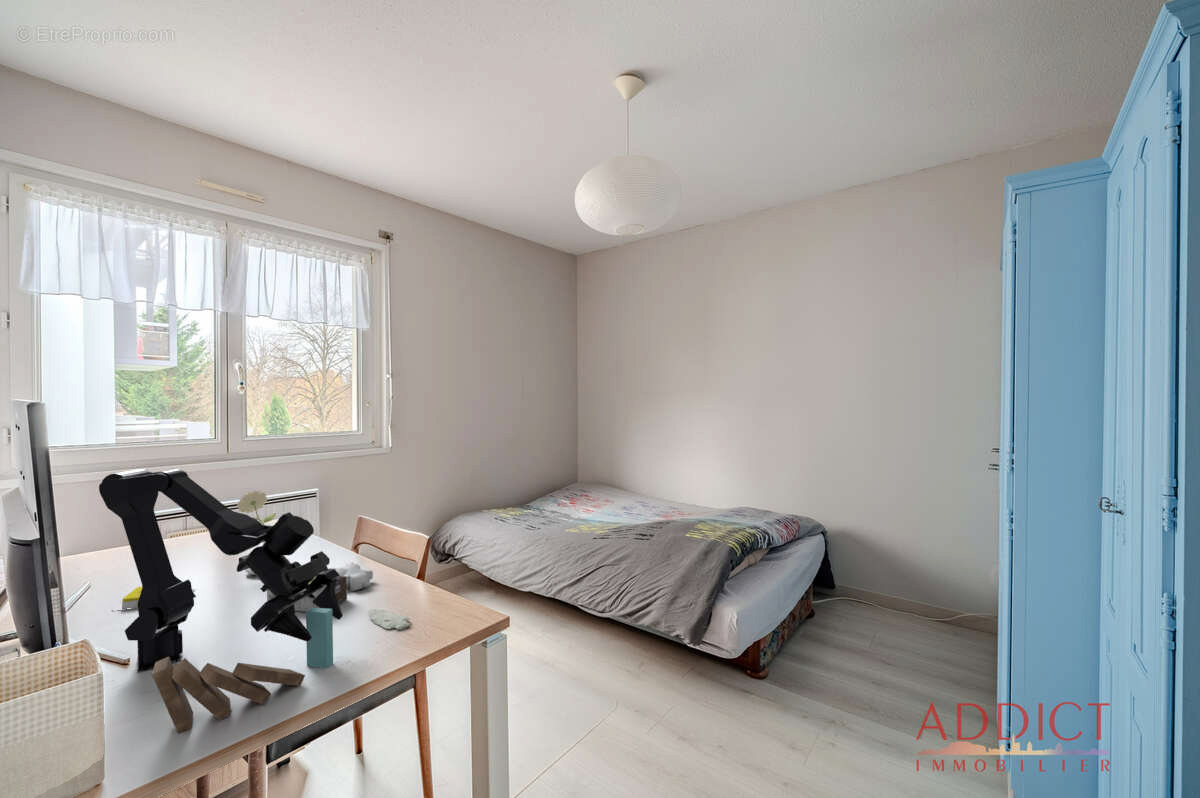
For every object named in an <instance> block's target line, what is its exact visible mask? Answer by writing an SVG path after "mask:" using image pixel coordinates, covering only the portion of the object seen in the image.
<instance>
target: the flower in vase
mask: <svg viewBox="0 0 1200 798" xmlns="http://www.w3.org/2000/svg"><path fill="white" fill-rule="evenodd" d="M267 499H268V498H267V495H266V492H265V491H263V492H261V491H260V490H253V491H252V492H251V491H249V492H248V493H247V494H244V495H243V496H242V497H241V498H240V499H239V500H238V501H239V502H237V503H236V508H237V509H238V511H239V513H246V514H247V513H248V514H250V513H253V512H254V511H255V514H256V517H252V518H253V519H255V520H257V521H259V522H260V523H261V524H262V525H266V524H265V523H268V522H271V521H273V520H274V518H276V514H277V512H274V513H272V514H270V515H268V516H266V517H265V518H264V519H263V521H262V520H261V519H260V517H259V514H258V512H257V511H258V510H259V509H261V508H263V506H265V503H267V502H268V500H267ZM274 524H275V523H270V524H267V525H269V526H273V525H274ZM264 543H265V541H264V542H262V545H263V544H264ZM287 559H288V560H289V562H290V563H291V561H290V559H289V558H287ZM244 571H245V573H247V574H249V575H255V574H254V573H253V572H252V571H251V569H250V568H248V569H246V570H244ZM255 576H256V575H255Z"/></svg>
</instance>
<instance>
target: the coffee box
mask: <svg viewBox="0 0 1200 798" xmlns="http://www.w3.org/2000/svg"><path fill="white" fill-rule="evenodd" d="M337 579H338V582H337V583H336V587H335V594H336V598H337V601H338V604H339V605H340V604H342V603H344V602H346V601H347V600H348V592H347V591H348V588H347V584H346V576H339V577H338V578H337ZM313 580H314V579H313ZM313 580H312V581H313ZM312 581H311V582H312ZM311 582H309V583H308V584H310V583H311ZM302 594H303V593H302ZM302 594H301V595H302ZM273 598H274V596H273V594H272V593H271V592H270V591H269V590H267V591H266V602H267V601H269V600H271V599H273ZM294 599H295V598H294ZM314 599H315V598H314ZM314 599H313V598H309V597H308V596H307V597H305V598H304V599H302V600H300V601H298V602H297V603H295V604H294V607H295V612H303V613H304V612H305V613H306V611H308V610H309V609H311V608H320V607H318V606H317V605H315V604H314V603H313V602H312V601H313V600H314ZM292 600H293V599H292ZM343 601H344V602H343Z"/></svg>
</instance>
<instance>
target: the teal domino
mask: <svg viewBox="0 0 1200 798" xmlns="http://www.w3.org/2000/svg"><path fill="white" fill-rule="evenodd" d="M333 620H334V619H333V616H332V609H326V608H311V609H309V610H308V611H306V612H305V621H306V622H305V628H306V629H307V630H308V632H309V633H310V635H311V636H312V638H311V639H310V640H309V641H308V642H307V641H306V667H309V668H310V667H311V668H313V667H314V668H322V669H323V668H327V669H328V668H329V667H330V666H331V665H333V664H334V642H333V641H334V635H333V634H334V633H333V631H334V629H333V627H334V626H333V625H334V624H333ZM332 663H333V664H332Z"/></svg>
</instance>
